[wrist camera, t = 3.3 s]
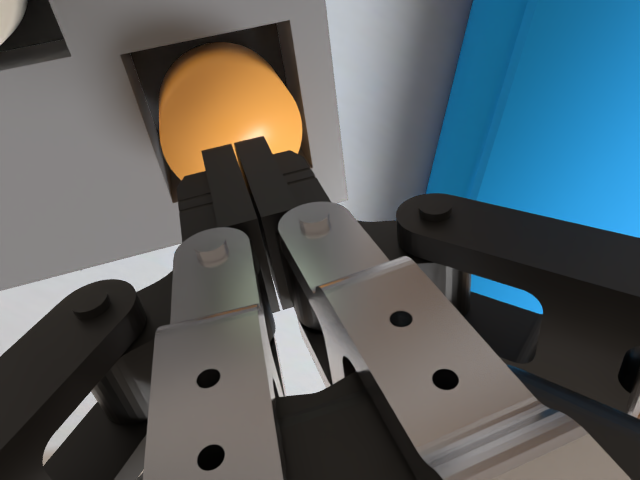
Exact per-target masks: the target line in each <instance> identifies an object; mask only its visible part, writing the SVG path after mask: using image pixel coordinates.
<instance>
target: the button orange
mask: <svg viewBox="0 0 640 480" xmlns="http://www.w3.org/2000/svg"><path fill="white" fill-rule="evenodd" d="M159 133H160V143H161V147H162V151H163V154H164V157H165V159H166V161H167V163H168V165H169V166H170V168H171V169H172V171H173V172H174V173H175V174H176V176H177V177H178V178H179V179H180V180H181V181H182V179H183V178H184V176H187V175H191V174H195V173H199V172H203V171H206V170H205V166H204V161H203V157H202V152H201V151H202V150H206V149H210V148H215V147H219V146H223V145H227V144H232V147H233V150H234V153H235V155H236V151H235V147H234V143H235V142H239V141H243V140H248V139H252V138H256V137H260V136H264V137H265V139H266V141H267V143H268V145H269V147H270V149H271V151H272V153H273V154H276V153H280V152H284V151H288V150H291V151H293V152H295V153H297V154H298V152H299V149H300V146H301V140H302V120H301V116H300V112H299V109H298V107H297V104H296V102H295V100H294V99H293V97H292V95H291V94H290V92H289V91H288V89H287V88H286V87H285V85H284V84H283V82H282V81H281V79H280V78H279V77H278V75H277V74H276V72H275V71H274V70H273V68H272V67H271V66H270V64H269V63H268V62H267V61H266V60H265V59H264V58H263V57H261V56H260V55H259V54H258V53H256V52H254V51H252V50H251V49H249V48H246V47H244V46H242V45H238V44H234V43H228V42H213V43H207V44H203V45H200V46H197V47H195V48H192V49H190V50H189V51H187V52H186V53H184V54H183V55H181V56H180V57H179V58H178V59H177V60H176V61H175V62H174V63H173V64H172V65H171V66H170V68H169V69H168V71H167V72H166V74H165V76H164V79H163V81H162V84H161V87H160V92H159ZM236 158H237V155H236ZM237 161H238V159H237ZM238 164H239V163H238Z"/></svg>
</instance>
